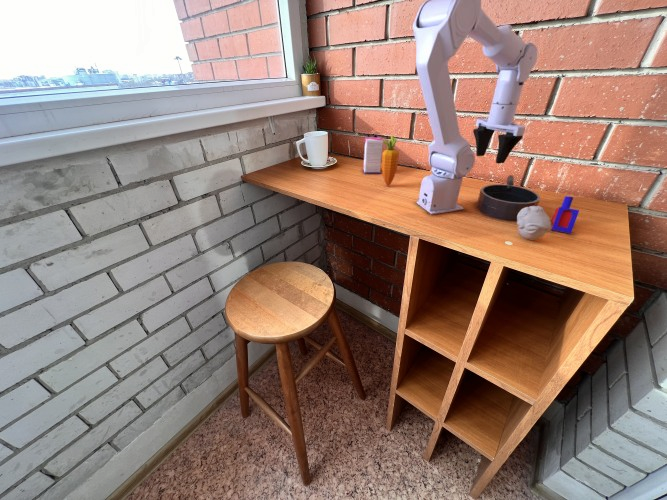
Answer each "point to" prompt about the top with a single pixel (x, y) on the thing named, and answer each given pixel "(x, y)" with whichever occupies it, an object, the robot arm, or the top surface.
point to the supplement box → (372, 155)
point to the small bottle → (564, 217)
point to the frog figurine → (533, 222)
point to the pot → (505, 201)
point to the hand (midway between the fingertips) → (489, 159)
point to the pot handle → (510, 181)
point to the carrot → (389, 161)
